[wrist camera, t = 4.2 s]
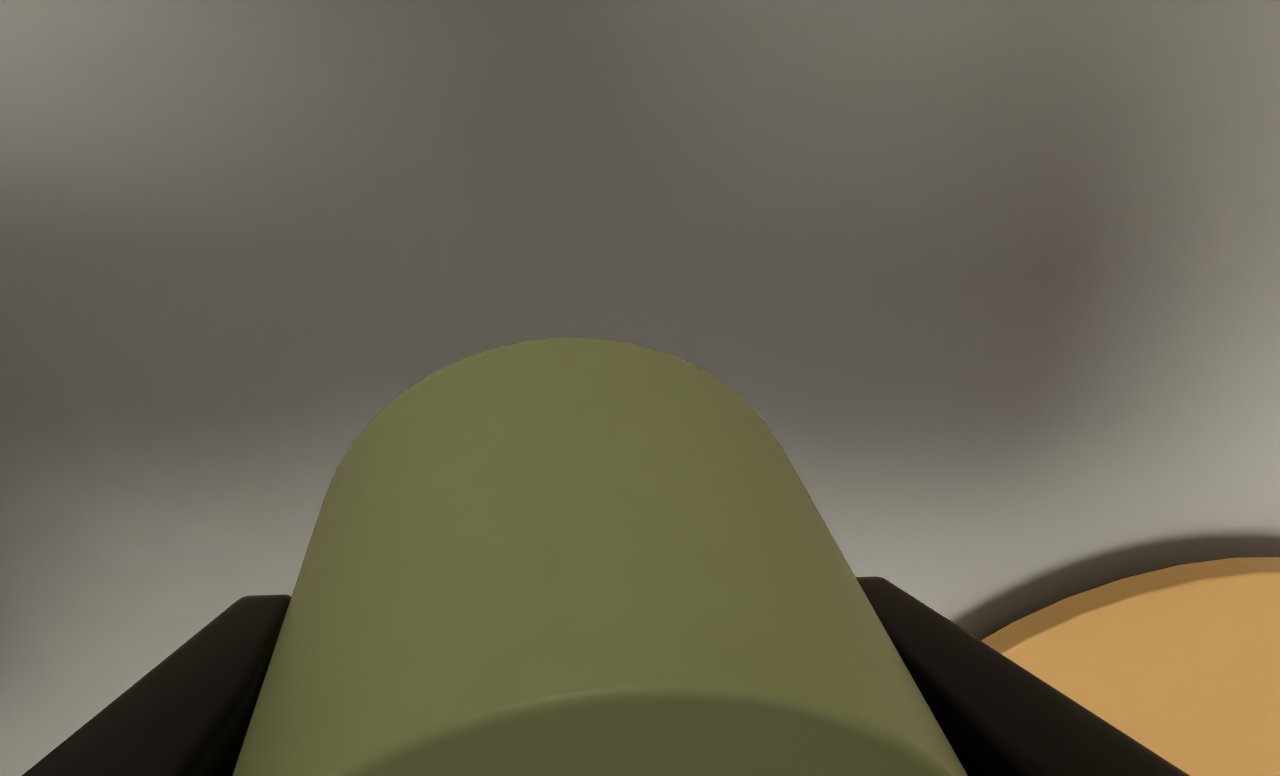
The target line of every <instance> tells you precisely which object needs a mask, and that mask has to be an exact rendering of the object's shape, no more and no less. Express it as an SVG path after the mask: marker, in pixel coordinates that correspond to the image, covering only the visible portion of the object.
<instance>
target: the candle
mask: <svg viewBox="0 0 1280 776" xmlns="http://www.w3.org/2000/svg"><path fill="white" fill-rule="evenodd" d="M233 776H968V775H967V774H966V772H965V770H964V768H963V767H962V765H961V763H960V761H959V759H958V758H957V756H956V754H955V752H954V751H953V749H952V747H951V745H950V744H949V742H948V740H947V738H946V736H945V735H944V733H943V731H942V729H941V728H940V726H939V724H938V722H937V721H936V719H935V717H934V715H933V713H932V712H931V710H930V708H929V706H928V705H927V703H926V701H925V699H924V698H923V696H922V694H921V692H920V690H919V689H918V687H917V685H916V683H915V682H914V680H913V678H912V676H911V675H910V673H909V671H908V669H907V667H906V666H905V664H904V662H903V660H902V659H901V657H900V655H899V653H898V652H897V650H896V648H895V646H894V644H893V643H892V641H891V639H890V637H889V636H888V634H887V632H886V630H885V629H884V627H883V625H882V623H881V621H880V620H879V618H878V616H877V614H876V613H875V611H874V609H873V607H872V605H871V604H870V602H869V600H868V598H867V597H866V595H865V593H864V591H863V590H862V588H861V586H860V584H859V582H858V581H857V579H856V577H855V575H854V574H853V572H852V570H851V568H850V567H849V565H848V563H847V561H846V559H845V558H844V556H843V554H842V552H841V551H840V549H839V547H838V545H837V544H836V542H835V540H834V538H833V536H832V535H831V533H830V531H829V529H828V528H827V526H826V524H825V522H824V521H823V519H822V517H821V515H820V513H819V512H818V510H817V508H816V506H815V505H814V503H813V501H812V499H811V498H810V496H809V494H808V492H807V490H806V489H805V487H804V485H803V483H802V482H801V480H800V478H799V476H798V475H797V473H796V471H795V469H794V467H793V466H792V464H791V462H790V460H789V459H788V457H787V455H786V453H785V452H784V450H783V448H782V446H781V445H780V443H779V442H778V440H777V439H776V437H775V436H774V434H773V433H772V431H771V430H770V428H769V427H768V425H767V424H766V422H765V421H764V420H763V419H762V418H761V417H760V416H759V415H758V414H757V413H756V411H755V410H754V409H753V408H752V407H751V406H750V405H749V404H748V403H747V402H746V401H745V400H744V399H743V398H742V397H740V396H739V395H738V394H737V393H735V392H734V391H733V390H732V389H730V388H729V387H728V386H727V385H726V384H724V383H723V382H722V381H720V380H718V379H717V378H715V377H713V376H712V375H710V374H708V373H707V372H705V371H703V370H702V369H700V368H698V367H697V366H695V365H693V364H690V363H688V362H686V361H683V360H681V359H679V358H676V357H674V356H672V355H669V354H667V353H664V352H661V351H657V350H654V349H650V348H647V347H643V346H640V345H636V344H632V343H626V342H619V341H612V340H606V339H599V338H565V337H563V338H552V339H542V340H531V341H525V342H520V343H516V344H511V345H507V346H502V347H497V348H493V349H490V350H487V351H484V352H481V353H479V354H476V355H473V356H470V357H467V358H464V359H462V360H459V361H457V362H455V363H453V364H451V365H449V366H447V367H445V368H443V369H441V370H439V371H437V372H435V373H433V374H431V375H429V376H427V377H426V378H424V379H423V380H421V381H420V382H418V383H417V384H415V385H414V386H412V387H411V388H409V389H408V390H406V391H405V392H403V393H402V394H400V395H399V396H398V397H397V398H396V399H394V400H393V401H392V402H391V403H390V404H389V405H388V406H387V407H385V408H384V409H383V410H382V411H381V412H380V413H379V414H378V415H376V416H375V417H374V418H373V419H372V421H371V422H370V423H369V424H368V425H367V427H366V428H365V429H364V430H363V431H362V432H361V434H360V435H359V436H358V437H357V438H356V439H355V441H354V442H353V443H352V445H351V447H350V448H349V450H348V451H347V453H346V454H345V456H344V458H343V459H342V461H341V462H340V464H339V466H338V467H337V469H336V471H335V474H334V476H333V478H332V481H331V483H330V485H329V488H328V490H327V492H326V495H325V497H324V500H323V503H322V506H321V509H320V512H319V515H318V519H317V522H316V525H315V528H314V531H313V534H312V537H311V540H310V543H309V546H308V549H307V552H306V555H305V558H304V561H303V564H302V567H301V570H300V573H299V576H298V579H297V582H296V585H295V588H294V591H293V594H292V597H291V600H290V603H289V606H288V609H287V612H286V615H285V618H284V621H283V624H282V628H281V631H280V634H279V637H278V640H277V643H276V646H275V649H274V652H273V655H272V658H271V661H270V664H269V667H268V670H267V673H266V676H265V679H264V682H263V685H262V688H261V691H260V694H259V697H258V700H257V703H256V706H255V709H254V712H253V715H252V718H251V721H250V724H249V727H248V730H247V733H246V737H245V740H244V743H243V746H242V749H241V752H240V755H239V758H238V761H237V764H236V767H235V770H234V773H233Z"/></svg>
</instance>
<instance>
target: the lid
mask: <svg viewBox="0 0 1280 776" xmlns="http://www.w3.org/2000/svg"><path fill="white" fill-rule="evenodd" d="M981 641H982V642H984V643H985V644H987V645H988V646H990V647H991V648H993V649H994V650H996V651H998V652H999V653H1001V654H1002V655H1004V656H1005V657H1007V658H1008V659H1010V660H1012V661H1013V662H1015V663H1016V664H1018V665H1019V666H1021V667H1022V668H1024V669H1026V670H1027V671H1029V672H1030V673H1032V674H1033V675H1035V676H1036V677H1038V678H1040V679H1041V680H1043V681H1044V682H1046V683H1047V684H1049V685H1050V686H1052V687H1053V688H1055V689H1057V690H1058V691H1060V692H1061V693H1063V694H1064V695H1066V696H1067V697H1069V698H1071V699H1072V700H1074V701H1075V702H1077V703H1078V704H1080V705H1081V706H1083V707H1085V708H1086V709H1088V710H1089V711H1091V712H1092V713H1094V714H1095V715H1097V716H1098V717H1100V718H1102V719H1103V720H1105V721H1106V722H1108V723H1109V724H1111V725H1112V726H1114V727H1116V728H1117V729H1119V730H1120V731H1122V732H1123V733H1125V734H1126V735H1128V736H1130V737H1131V738H1133V739H1134V740H1136V741H1137V742H1139V743H1140V744H1142V745H1144V746H1145V747H1147V748H1148V749H1150V750H1151V751H1153V752H1154V753H1156V754H1157V755H1159V756H1161V757H1162V758H1164V759H1165V760H1167V761H1168V762H1170V763H1171V764H1173V765H1175V766H1176V767H1178V768H1179V769H1181V770H1182V771H1184V772H1185V773H1187V774H1189V775H1190V776H1280V557H1238V558H1228V559H1220V560H1213V561H1205V562H1197V563H1189V564H1181V565H1177V566H1173V567H1168V568H1164V569H1160V570H1156V571H1152V572H1147V573H1143V574H1139V575H1135V576H1131V577H1126V578H1123V579H1120V580H1117V581H1114V582H1111V583H1108V584H1105V585H1102V586H1099V587H1096V588H1094V589H1091V590H1088V591H1085V592H1082V593H1079V594H1076V595H1073V596H1070V597H1068V598H1065V599H1063V600H1061V601H1059V602H1056V603H1054V604H1052V605H1050V606H1048V607H1045V608H1043V609H1041V610H1039V611H1037V612H1034V613H1032V614H1030V615H1028V616H1026V617H1023V618H1021V619H1019V620H1017V621H1015V622H1012V623H1011V624H1009V625H1007V626H1005V627H1004V628H1002V629H1000V630H998V631H997V632H995V633H993V634H991V635H990V636H988V637H986V638H984V639H983V640H981Z"/></svg>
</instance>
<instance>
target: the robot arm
mask: <svg viewBox="0 0 1280 776" xmlns="http://www.w3.org/2000/svg"><path fill="white" fill-rule="evenodd" d="M856 579H857V581H858V582H859V584H860V586H861V588H862V590H863V591H864V593H865V595H866V597H867V598H868V600H869V602H870V604H871V605H872V607H873V609H874V611H875V613H876V614H877V616H878V618H879V620H880V621H881V623H882V625H883V627H884V629H885V630H886V632H887V634H888V636H889V637H890V639H891V641H892V643H893V644H894V646H895V648H896V650H897V652H898V653H899V655H900V657H901V659H902V660H903V662H904V664H905V666H906V667H907V669H908V671H909V673H910V675H911V676H912V678H913V680H914V682H915V683H916V685H917V687H918V689H919V690H920V692H921V694H922V696H923V698H924V699H925V701H926V703H927V705H928V706H929V708H930V710H931V712H932V713H933V715H934V717H935V719H936V721H937V722H938V724H939V726H940V728H941V729H942V731H943V733H944V735H945V736H946V738H947V740H948V742H949V744H950V745H951V747H952V749H953V751H954V752H955V754H956V756H957V758H958V759H959V761H960V763H961V765H962V767H963V768H964V770H965V772H966V774H967V775H968V776H1190V775H1189V774H1187V773H1185V772H1184V771H1182V770H1181V769H1179V768H1178V767H1176V766H1175V765H1173V764H1171V763H1170V762H1168V761H1167V760H1165V759H1164V758H1162V757H1161V756H1159V755H1157V754H1156V753H1154V752H1153V751H1151V750H1150V749H1148V748H1147V747H1145V746H1144V745H1142V744H1140V743H1139V742H1137V741H1136V740H1134V739H1133V738H1131V737H1130V736H1128V735H1126V734H1125V733H1123V732H1122V731H1120V730H1119V729H1117V728H1116V727H1114V726H1112V725H1111V724H1109V723H1108V722H1106V721H1105V720H1103V719H1102V718H1100V717H1098V716H1097V715H1095V714H1094V713H1092V712H1091V711H1089V710H1088V709H1086V708H1085V707H1083V706H1081V705H1080V704H1078V703H1077V702H1075V701H1074V700H1072V699H1071V698H1069V697H1067V696H1066V695H1064V694H1063V693H1061V692H1060V691H1058V690H1057V689H1055V688H1053V687H1052V686H1050V685H1049V684H1047V683H1046V682H1044V681H1043V680H1041V679H1040V678H1038V677H1036V676H1035V675H1033V674H1032V673H1030V672H1029V671H1027V670H1026V669H1024V668H1022V667H1021V666H1019V665H1018V664H1016V663H1015V662H1013V661H1012V660H1010V659H1008V658H1007V657H1005V656H1004V655H1002V654H1001V653H999V652H998V651H996V650H994V649H993V648H991V647H990V646H988V645H987V644H985V643H984V642H982V641H981V640H979V639H977V638H976V637H974V636H973V635H971V634H970V633H968V632H967V631H965V630H963V629H962V628H960V627H959V626H957V625H956V624H954V623H953V622H951V621H949V620H948V619H946V618H945V617H943V616H942V615H940V614H939V613H937V612H935V611H934V610H932V609H931V608H929V607H928V606H926V605H925V604H923V603H922V602H920V601H918V600H917V599H915V598H914V597H912V596H911V595H909V594H908V593H906V592H904V591H903V590H901V589H900V588H898V587H897V586H895V585H894V584H892V583H890V582H889V581H887V580H885V579H884V578H881V577H856ZM290 600H291V596H289V595H254V596H245V597H242V598H241V599H239V600H237V601H236V602H235V603H234V604H232V605H231V606H230V607H229V608H227V609H226V610H225V611H224V612H222V613H221V614H220V615H219V616H218V617H216V618H215V619H214V620H213V621H211V622H210V623H209V624H208V625H207V626H205V627H204V628H203V629H202V630H200V631H199V632H198V633H197V634H195V635H194V636H193V637H192V638H191V639H189V640H188V641H187V642H186V643H184V644H183V645H182V646H181V647H179V648H178V649H177V650H176V651H175V652H173V653H172V654H171V655H170V656H168V657H167V658H166V659H165V660H163V661H162V662H161V663H160V664H159V665H157V666H156V667H155V668H154V669H152V670H151V671H150V672H149V673H148V674H146V675H145V676H144V677H143V678H141V679H140V680H139V681H138V682H136V683H135V684H134V685H133V686H132V687H130V688H129V689H128V690H127V691H125V692H124V693H123V694H122V695H120V696H119V697H118V698H117V699H116V700H114V701H113V702H112V703H111V704H109V705H108V706H107V707H106V708H104V709H103V710H102V711H101V712H100V713H98V714H97V715H96V716H95V717H93V718H92V719H91V720H90V721H89V722H87V723H86V724H85V725H84V726H82V727H81V728H80V729H79V730H77V731H76V732H75V733H74V734H73V735H71V736H70V737H69V738H68V739H66V740H65V741H64V742H63V743H61V744H60V745H59V746H58V747H57V748H55V749H54V750H53V751H52V752H50V753H49V754H48V755H47V756H45V757H44V758H43V759H42V760H41V761H39V762H38V763H37V764H36V765H34V766H33V767H32V768H31V769H30V770H28V771H27V772H26V773H25V774H23V775H22V776H233V773H234V770H235V767H236V764H237V761H238V758H239V755H240V752H241V749H242V746H243V743H244V740H245V737H246V733H247V730H248V727H249V724H250V721H251V718H252V715H253V712H254V709H255V706H256V703H257V700H258V697H259V694H260V691H261V688H262V685H263V682H264V679H265V676H266V673H267V670H268V667H269V664H270V661H271V658H272V655H273V652H274V649H275V646H276V643H277V640H278V637H279V634H280V631H281V628H282V624H283V621H284V618H285V615H286V612H287V609H288V606H289V603H290Z"/></svg>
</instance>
